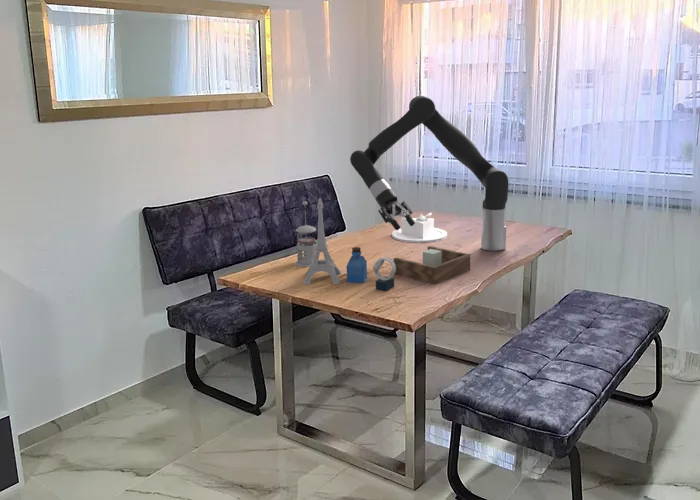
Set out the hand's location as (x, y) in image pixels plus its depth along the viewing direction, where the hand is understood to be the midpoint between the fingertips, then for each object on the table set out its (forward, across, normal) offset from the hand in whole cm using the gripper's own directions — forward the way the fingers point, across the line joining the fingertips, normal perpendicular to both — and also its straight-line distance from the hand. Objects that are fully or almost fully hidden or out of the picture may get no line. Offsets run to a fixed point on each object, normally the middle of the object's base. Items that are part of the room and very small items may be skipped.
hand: (406, 227), depth 257 cm
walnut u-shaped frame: (+20, 0, +2) cm, 20 cm away
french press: (-12, -22, +34) cm, 43 cm away
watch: (+19, -25, +3) cm, 32 cm away
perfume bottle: (+9, -25, +13) cm, 30 cm away
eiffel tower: (+2, -32, +21) cm, 38 cm away
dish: (-6, +39, +28) cm, 49 cm away
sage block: (+20, 0, +2) cm, 20 cm away
